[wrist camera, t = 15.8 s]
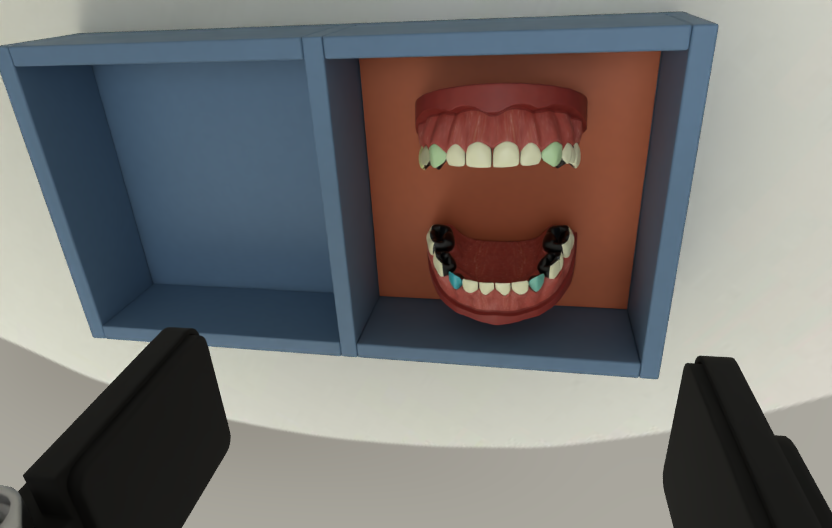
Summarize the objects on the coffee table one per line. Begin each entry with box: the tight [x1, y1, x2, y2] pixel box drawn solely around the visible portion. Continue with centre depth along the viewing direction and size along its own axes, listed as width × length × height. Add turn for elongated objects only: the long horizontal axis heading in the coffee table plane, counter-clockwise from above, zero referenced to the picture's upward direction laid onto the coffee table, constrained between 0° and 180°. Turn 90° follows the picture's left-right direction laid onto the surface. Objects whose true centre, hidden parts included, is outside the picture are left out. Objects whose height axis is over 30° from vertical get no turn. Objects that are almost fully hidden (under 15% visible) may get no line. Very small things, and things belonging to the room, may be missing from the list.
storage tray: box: [0, 12, 718, 379], centre depth 23 cm, size 24×12×5 cm, turn 93°
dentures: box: [415, 83, 588, 325], centre depth 22 cm, size 6×5×9 cm
